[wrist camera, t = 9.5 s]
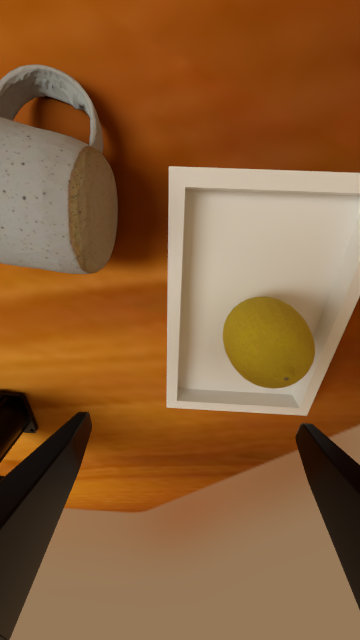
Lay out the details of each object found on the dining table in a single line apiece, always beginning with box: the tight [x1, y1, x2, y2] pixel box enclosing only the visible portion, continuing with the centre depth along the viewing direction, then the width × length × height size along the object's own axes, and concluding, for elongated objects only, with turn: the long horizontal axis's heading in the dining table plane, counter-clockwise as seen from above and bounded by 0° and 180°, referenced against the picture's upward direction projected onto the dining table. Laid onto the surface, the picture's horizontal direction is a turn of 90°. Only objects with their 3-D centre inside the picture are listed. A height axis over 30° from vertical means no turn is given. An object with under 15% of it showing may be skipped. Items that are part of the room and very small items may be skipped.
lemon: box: [223, 297, 315, 389], centre depth 15 cm, size 6×6×8 cm
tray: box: [167, 166, 360, 416], centre depth 18 cm, size 20×14×2 cm
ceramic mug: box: [0, 65, 118, 274], centre depth 12 cm, size 11×8×8 cm
